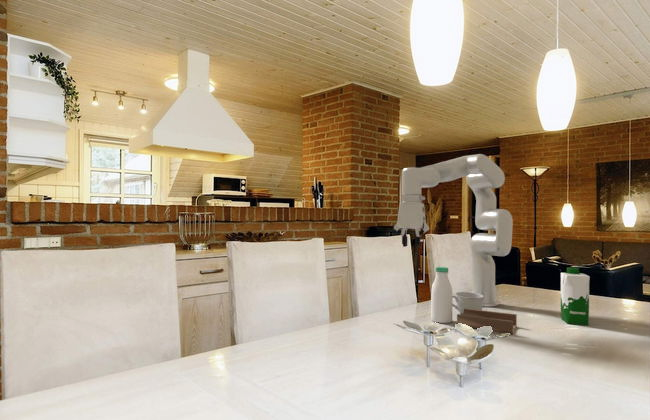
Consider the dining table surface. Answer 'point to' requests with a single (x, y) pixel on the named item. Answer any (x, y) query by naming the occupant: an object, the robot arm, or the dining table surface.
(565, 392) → the dining table surface
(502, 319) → the cradle
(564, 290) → the milk carton
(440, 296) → the milk bottle
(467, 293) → the teacup
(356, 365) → the dining table surface
